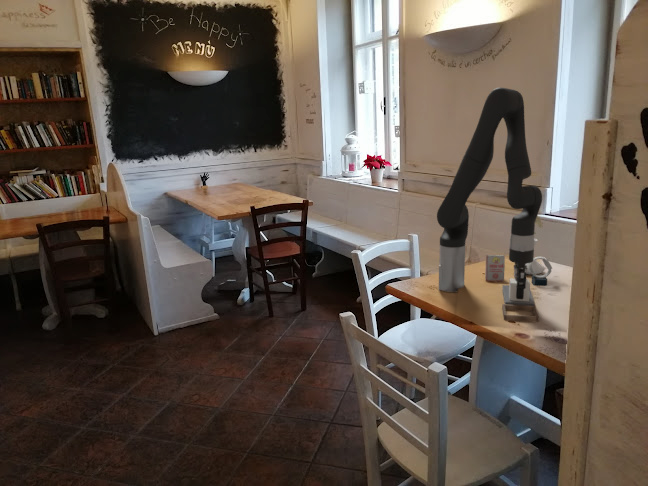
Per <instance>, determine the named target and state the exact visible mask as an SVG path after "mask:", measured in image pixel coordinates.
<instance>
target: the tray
mask: <svg viewBox="0 0 648 486" xmlns="http://www.w3.org/2000/svg"><path fill="white" fill-rule="evenodd" d="M501 309H502V316H503V320H505V321H518V322H533V323H534V322H535V323H538V322H539V319H540V318H539V313H538V311H537V308H536V306H525V305H508V304H505V303H502V307H501ZM508 310H509V311H522V312H523V311H524V312H532V313H533V315H523V314H507V311H508Z"/></svg>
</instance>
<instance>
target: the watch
mask: <svg viewBox="0 0 648 486" xmlns="http://www.w3.org/2000/svg"><path fill="white" fill-rule="evenodd" d="M535 260H542V262H543V264H544V266H545V268H546V269H547V272H546V273H545V274H535V273H534V272H533V269H532V265H531V264H532V262H531V263H529V269H530V271H531V273H532V274H531V284H532V285H533V286H534V287H538V286H539V287H541V286H542V287H548V278H547V277H549V276H550V274H551V273H552V270H553V267H552V265H551V263H550V261H549V259H547V257H544V256H541V255H539V256H535V257H534V258H533V262H534V261H535Z"/></svg>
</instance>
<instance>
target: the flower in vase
mask: <svg viewBox="0 0 648 486" xmlns="http://www.w3.org/2000/svg"><path fill="white" fill-rule="evenodd" d="M535 226H537V227H539V228H540V229H542V228H543V222H542V220H541V217H540V216H538V215H537V218H536V220H535ZM536 234H537V233H536V232H535V231H534V235H536ZM534 240H535V241H534V247H536V246H535V245H536V244H537V242H538V241H539V240H538V239H537V238H534ZM525 265H527V275H533V274H532V273H531V271H530V269H529V263H527V264H525ZM531 265H532V269H533V272H534V273H535V275H540V274H542V273H544V272H545V270H546V269H545V267H544V265H542V264H541V263H540V262H539V261H538V259H536V260H535V261H534V262H532V264H531Z"/></svg>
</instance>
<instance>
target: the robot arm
mask: <svg viewBox="0 0 648 486" xmlns="http://www.w3.org/2000/svg"><path fill="white" fill-rule="evenodd" d="M524 102H525V101H524V97H523V94H522V93H521V92H519V91H518V90H515V89H511V88H507V87H496V88H494V89H492V90H491V91H490V93H489V94H488V96H487V97H486V99H485V101H484V103H483V104H484V105H483V107H482V110H481V113H480V116H479V119H478V121H477V122H478V123H477V124H476V127H475V130H474V132H473V134H472V137H471V140H470V142H469V145H468V147H467V148H466V150H465V152H464V155H463V157H462V159H461V162H460V164H459V166H458V168H457V172H456V174H455V176H454V178H453V181H452V183H451V185H450V188H449V190H448V192H447V194H446V196H445V197H444V199H443V201H442V202H441V204H440V206H439V208H438V210H437V211H436V220H437V223H438V224H439V226H440V227H441V228H443V232H442V233H441V236H440V237H439V266H438V290H439V291H444V292H447V293H458V292H459V289H462V288H464V287H465V271H466V268H465V267H466V266H465V265H466V263H465V261H466V240H467V237H468V233H469V217H470V216H469V209H468V207H467V204H466V203H467V201H468V199H469V197H470V196H471V194H472V193H473V192H474V191H475V189H476V188H477V187H478V186H479V184H480V183H481V182H482V180H483V179H484V177H485V175H486V174H487V173H488V170H489V168H490V165H491V163H492V161H493V158H494V151H495V149H494V148H495V147H494V146H495V145H494V144H495V134H496V132H497V129H498V128H499V125H500V123H501V122H502V119H503V120H504V123H505V126H506V131H507V133H506V134H507V137H506V143H505V149H504V162H505V166H506V171H507V175H508V176H507V189H506V200H507V203H508V204H509V206H510V207H511V208H512V209H515V210H521V209H522V211H521V212H520V213H519V214H516V215H514V216H513V217H512V219H511V224H510V225H511V226H510V228H511V229H510V237H509V252H508V260H509V261H510V262H512V263H514V265H513V277H514V279H515V281H516V282H517V284H516V288H517V290H516V298H517V299H523V296H524V289H525V288H526V286H525V285H526V279H527V275H528V274H527V265H525V264H527V263H531V262H533V258H534V256H535V246H534V241H535V240H534V239H535V234H534V232H535V227H536V223H535V220H536V218H537V216H538V215H539V212H540V209H541V206H542V201H543V193H542V191H541V189H540V188H539V187H538V186H537V185H523V181H524V180H526V179H529V178H530V177H531V176H532V168H531V163H530V157H529V152H528V147H527V142H526V141H527V140H526V127H525V126H526V124H525V121H526V120H525V103H524ZM519 283H523V285H519Z"/></svg>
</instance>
